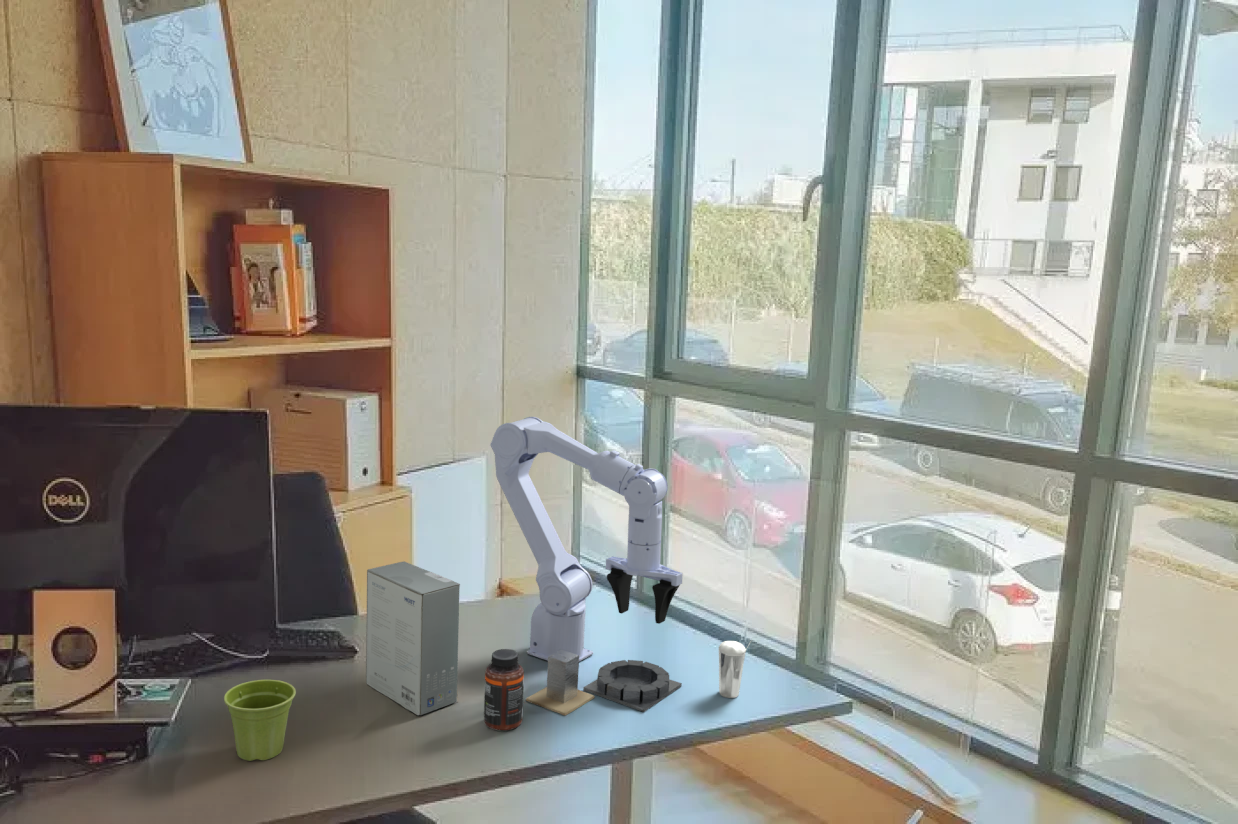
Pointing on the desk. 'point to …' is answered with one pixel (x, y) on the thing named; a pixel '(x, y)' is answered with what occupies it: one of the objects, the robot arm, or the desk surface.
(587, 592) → the robot arm
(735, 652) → the milkshake
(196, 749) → the desk surface
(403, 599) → the hard drive box
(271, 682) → the plant pot
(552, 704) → the cork pad
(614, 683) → the dark grey collar
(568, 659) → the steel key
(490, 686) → the supplement bottle
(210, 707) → the desk surface
